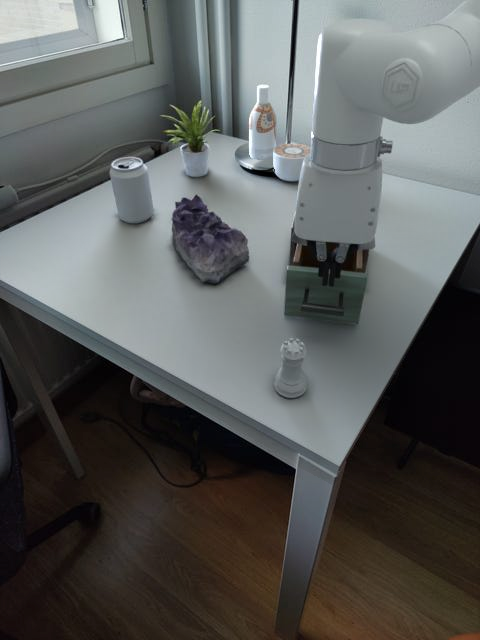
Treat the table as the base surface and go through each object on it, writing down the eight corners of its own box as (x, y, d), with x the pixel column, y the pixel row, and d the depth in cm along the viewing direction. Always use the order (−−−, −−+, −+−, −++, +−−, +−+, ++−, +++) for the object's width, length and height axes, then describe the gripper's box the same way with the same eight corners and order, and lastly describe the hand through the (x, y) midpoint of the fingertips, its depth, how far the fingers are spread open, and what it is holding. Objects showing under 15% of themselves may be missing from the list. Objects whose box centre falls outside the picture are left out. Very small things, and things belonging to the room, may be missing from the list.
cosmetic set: (344, 185, 108) (356, 100, 96) (320, 199, 103) (330, 111, 91) (264, 157, 121) (266, 79, 109) (240, 168, 116) (238, 88, 104)
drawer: (357, 345, 67) (367, 298, 61) (279, 335, 69) (282, 289, 63) (359, 273, 80) (367, 229, 75) (293, 266, 82) (297, 223, 76)
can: (112, 217, 99) (99, 162, 91) (140, 204, 103) (130, 151, 95) (133, 229, 95) (122, 173, 87) (161, 215, 99) (153, 161, 91)
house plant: (174, 158, 122) (166, 92, 111) (226, 159, 121) (223, 92, 110) (162, 181, 111) (152, 111, 101) (218, 183, 110) (215, 111, 99)
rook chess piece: (288, 369, 65) (291, 327, 60) (313, 386, 63) (319, 344, 57) (267, 387, 63) (268, 345, 57) (292, 405, 60) (296, 363, 55)
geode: (150, 242, 91) (148, 193, 85) (202, 232, 97) (203, 185, 91) (200, 291, 78) (201, 237, 72) (256, 276, 83) (262, 224, 77)
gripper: (409, 140, 54) (382, 270, 66) (282, 135, 56) (278, 261, 68) (414, 166, 48) (384, 302, 60) (273, 159, 51) (271, 291, 63)
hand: (328, 280), depth 64 cm, fingers closed
